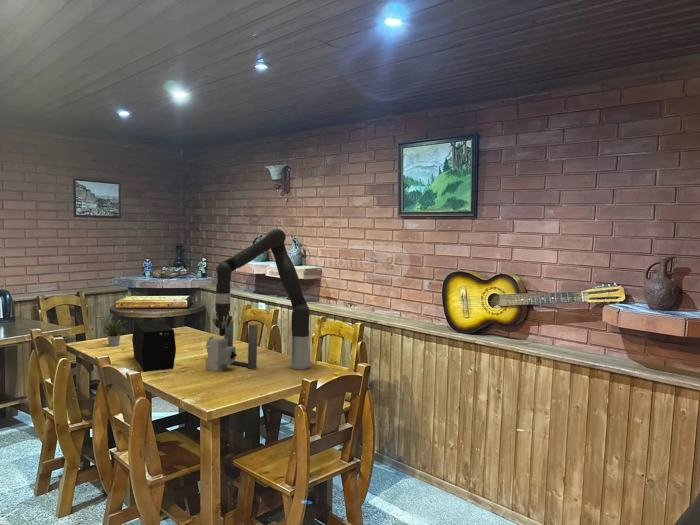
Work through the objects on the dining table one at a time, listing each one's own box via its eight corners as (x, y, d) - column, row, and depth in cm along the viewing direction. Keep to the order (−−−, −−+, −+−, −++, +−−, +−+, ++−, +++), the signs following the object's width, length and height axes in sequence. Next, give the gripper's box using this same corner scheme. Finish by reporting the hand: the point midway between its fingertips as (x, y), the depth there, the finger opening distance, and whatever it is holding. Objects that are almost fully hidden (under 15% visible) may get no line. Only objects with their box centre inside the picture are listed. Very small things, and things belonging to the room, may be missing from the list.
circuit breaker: (231, 372, 250) (232, 342, 250) (205, 369, 253) (206, 340, 253) (238, 368, 258) (238, 339, 257) (212, 366, 261) (213, 337, 260)
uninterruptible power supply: (163, 354, 281) (163, 319, 280) (176, 369, 252) (177, 330, 251) (131, 357, 272) (132, 321, 271) (141, 373, 244) (142, 332, 243)
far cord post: (235, 363, 268) (236, 318, 267) (228, 365, 264) (229, 320, 262) (227, 361, 271) (228, 317, 269) (221, 363, 266) (222, 319, 265)
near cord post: (259, 367, 261) (260, 322, 260) (253, 369, 257) (254, 323, 255) (251, 366, 264) (252, 321, 262) (245, 368, 259) (246, 322, 258)
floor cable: (249, 366, 262) (249, 362, 262) (247, 367, 260) (247, 363, 260) (232, 363, 267) (233, 360, 267) (230, 364, 265) (230, 360, 265)
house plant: (127, 342, 309) (127, 316, 308) (130, 346, 297) (130, 319, 296) (101, 344, 302) (102, 317, 301) (103, 348, 290) (104, 321, 289)
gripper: (219, 304, 246) (219, 338, 247) (237, 301, 258) (236, 334, 258) (208, 302, 249) (207, 336, 250) (225, 300, 261) (225, 332, 262)
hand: (222, 335), depth 254 cm, fingers closed
